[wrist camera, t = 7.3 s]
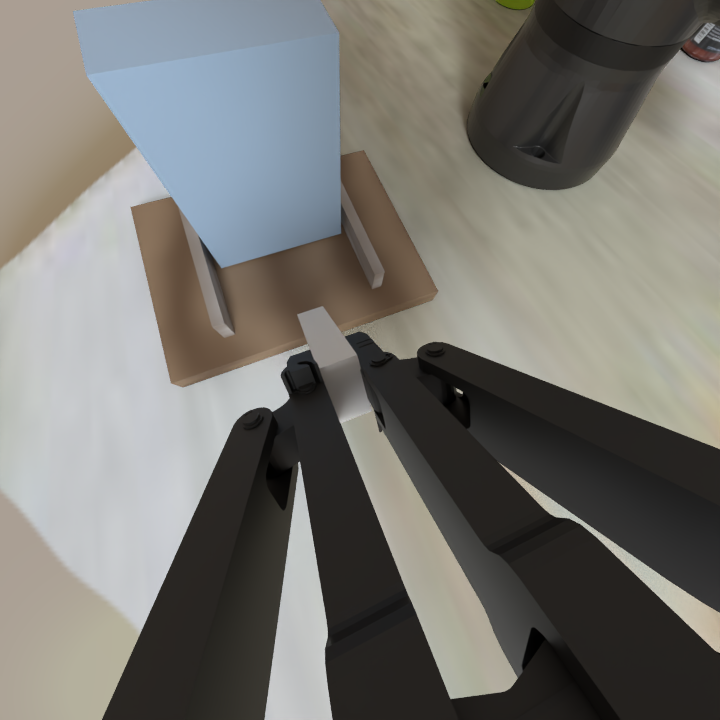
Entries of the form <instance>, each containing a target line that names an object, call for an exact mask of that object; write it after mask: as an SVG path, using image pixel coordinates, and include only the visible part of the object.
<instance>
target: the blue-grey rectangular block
mask: <svg viewBox="0 0 720 720" xmlns="http://www.w3.org/2000/svg"><path fill="white" fill-rule="evenodd" d="M73 14H74V19H75V24H76V28H77V33H78V38H79V42H80V47H81V52H82V57H83V62H84V66H85V71H86V75H87V77H88V78H89V79H90V81H91V82H92V84H93V85H94V87H95V88H96V90H97V91H98V92H99V94H100V95H101V97H102V98H103V100H104V101H105V102H106V104H107V105H108V107H109V108H110V109H111V111H112V112H113V113H114V115H115V117H116V118H117V120H118V121H119V122H120V124H121V125H122V127H123V128H124V129H125V131H126V132H127V134H128V135H129V136H130V138H131V139H132V141H133V142H134V144H135V145H136V147H137V148H138V150H139V151H140V152H141V154H142V155H143V157H144V158H145V160H146V161H147V162H148V164H149V165H150V167H151V168H152V170H153V171H154V172H155V174H156V175H157V177H158V178H159V180H160V181H161V182H162V184H163V185H164V187H165V188H166V190H167V191H168V192H169V194H170V195H171V197H172V198H173V200H174V201H175V202H176V204H177V205H178V207H179V208H180V210H181V211H182V212H183V214H184V215H185V217H186V218H187V220H188V221H189V222H190V224H191V225H192V227H193V228H194V230H195V231H196V233H197V234H198V235H199V237H200V238H201V240H202V241H203V243H204V244H205V245H206V247H207V248H208V250H209V251H210V253H211V254H212V255H213V257H214V258H215V260H216V261H217V263H218V264H219V265H220V267H221V268H224V267H228V266H231V265H235V264H238V263H241V262H245V261H248V260H252V259H255V258H259V257H262V256H266V255H269V254H272V253H276V252H279V251H283V250H286V249H290V248H293V247H297V246H300V245H303V244H307V243H310V242H314V241H317V240H321V239H324V238H328V237H331V236H334V235H338V234H341V179H340V73H339V31H338V30H337V28H336V26H335V24H334V23H333V21H332V19H331V18H330V16H329V14H328V12H327V11H326V9H325V7H324V6H323V4H322V2H321V0H152V1H144V2H136V3H129V4H122V5H115V6H107V7H99V8H92V9H85V10H77V11H73Z"/></svg>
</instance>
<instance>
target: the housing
mask: <svg viewBox="0 0 720 720" xmlns="http://www.w3.org/2000/svg"><path fill="white" fill-rule="evenodd" d="M340 179H341V234H338V235H334V236H331V237H328V238H324V239H321V240H317V241H314V242H310V243H307V244H303V245H300V246H297V247H293V248H290V249H286V250H283V251H279V252H276V253H272V254H269V255H266V256H262V257H259V258H255V259H252V260H248V261H245V262H241V263H238V264H235V265H231V266H228V267H224V268H221V267H220V265H219V264H218V263H217V261H216V260H215V258H214V257H213V255H212V254H211V253H210V251H209V250H208V248H207V247H206V245H205V244H204V243H203V241H202V240H201V238H200V237H199V235H198V234H197V233H196V231H195V230H194V228H193V227H192V225H191V224H190V222H189V221H188V220H187V218H186V217H185V215H184V214H183V212H182V211H181V210H180V208H179V207H178V205H177V204H176V202H175V201H174V200H173V198H172V197H170V198H166V199H162V200H158V201H154V202H150V203H145V204H141V205H137V206H133V207H131V211H132V215H133V219H134V224H135V228H136V232H137V237H138V241H139V246H140V250H141V254H142V259H143V263H144V267H145V272H146V276H147V280H148V285H149V289H150V293H151V298H152V302H153V307H154V311H155V315H156V320H157V324H158V328H159V333H160V337H161V341H162V346H163V350H164V354H165V359H166V363H167V368H168V372H169V376H170V381H171V383H172V384H175V385H178V386H180V387H185V386H188V385H191V384H194V383H197V382H200V381H203V380H205V379H208V378H211V377H214V376H217V375H220V374H223V373H225V372H228V371H231V370H234V369H237V368H240V367H243V366H245V365H248V364H251V363H254V362H257V361H260V360H263V359H265V358H268V357H271V356H274V355H277V354H280V353H283V352H285V351H288V350H291V349H294V348H297V347H300V346H303V345H305V344H308V343H307V340H306V337H305V335H304V332H303V329H302V326H301V324H300V321H299V318H298V315H297V314H300V313H303V312H306V311H309V310H312V309H315V308H318V307H321V306H323V307H324V308H325V310H326V311H327V313H328V314H329V316H330V317H331V318H332V320H333V321H334V323H335V324H336V325H337V327H338V328H339V330H340V331H341V332H343V331H345V330H348V329H351V328H354V327H357V326H360V325H363V324H365V323H368V322H371V321H374V320H377V319H380V318H383V317H385V316H388V315H391V314H394V313H397V312H400V311H403V310H405V309H408V308H411V307H414V306H417V305H420V304H423V303H425V302H428V301H431V300H433V298H434V297H435V295H436V294H437V292H438V290H437V288H436V286H435V284H434V282H433V280H432V279H431V277H430V275H429V273H428V271H427V269H426V267H425V265H424V263H423V261H422V260H421V258H420V256H419V254H418V252H417V250H416V248H415V246H414V244H413V243H412V241H411V239H410V237H409V235H408V233H407V231H406V229H405V227H404V225H403V224H402V222H401V220H400V218H399V216H398V214H397V212H396V210H395V208H394V206H393V205H392V203H391V201H390V199H389V197H388V195H387V193H386V191H385V189H384V188H383V186H382V184H381V182H380V180H379V178H378V176H377V174H376V172H375V170H374V169H373V167H372V165H371V163H370V161H369V159H368V157H367V155H366V153H365V152H364V150H363V151H359V152H355V153H351V154H347V155H343V156H340Z"/></svg>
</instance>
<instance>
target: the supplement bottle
mask: <svg viewBox="0 0 720 720" xmlns="http://www.w3.org/2000/svg"><path fill="white" fill-rule="evenodd" d="M682 49H683V50H684V51H685V52H686V53H687V54H688V55H689V56H691V57H692V58H694V59H697V60H700V61H704V62H709V61H716V60H719V59H720V27H719V26H717V25H714V24H712V23H703V24H702V25H701V26H700V27H699V28H698V29H697V30H696V31H695V32H694V33H693V35H692V36H691V37H690V38H689V39H688V40H687V42H686V43H685V44H684V45H683V46H682Z"/></svg>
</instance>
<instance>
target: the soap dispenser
mask: <svg viewBox="0 0 720 720" xmlns="http://www.w3.org/2000/svg"><path fill="white" fill-rule="evenodd" d="M496 1H497V2H498V3H499V4H501V5H503V6H505V7H508V8H511V9H526V8H529V7H530V6H532V4H533V3H534V1H535V0H496Z"/></svg>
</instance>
